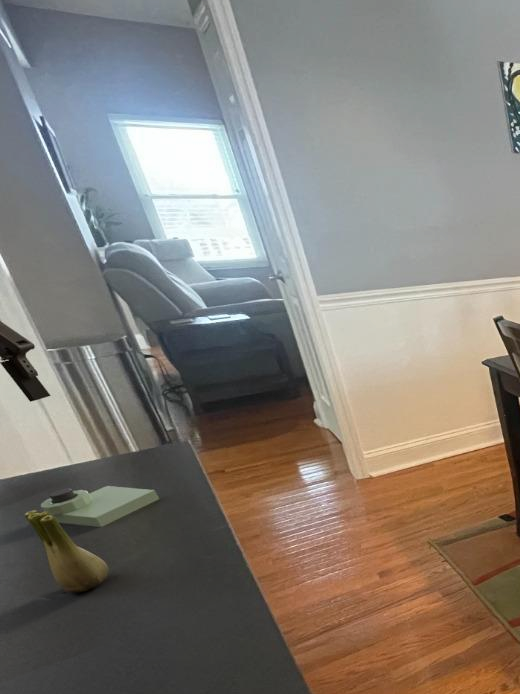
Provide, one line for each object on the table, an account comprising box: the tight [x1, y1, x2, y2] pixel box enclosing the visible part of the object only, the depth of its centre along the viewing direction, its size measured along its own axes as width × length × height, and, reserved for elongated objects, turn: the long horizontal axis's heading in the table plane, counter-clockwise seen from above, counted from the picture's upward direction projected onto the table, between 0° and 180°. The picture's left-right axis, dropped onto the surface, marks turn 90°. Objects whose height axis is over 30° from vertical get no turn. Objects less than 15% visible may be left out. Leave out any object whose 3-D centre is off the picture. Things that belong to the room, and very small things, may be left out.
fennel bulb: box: [24, 509, 110, 594], centre depth 81 cm, size 6×5×12 cm
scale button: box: [48, 488, 76, 504], centre depth 99 cm, size 3×3×2 cm
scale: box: [40, 485, 160, 528], centre depth 101 cm, size 12×10×4 cm
